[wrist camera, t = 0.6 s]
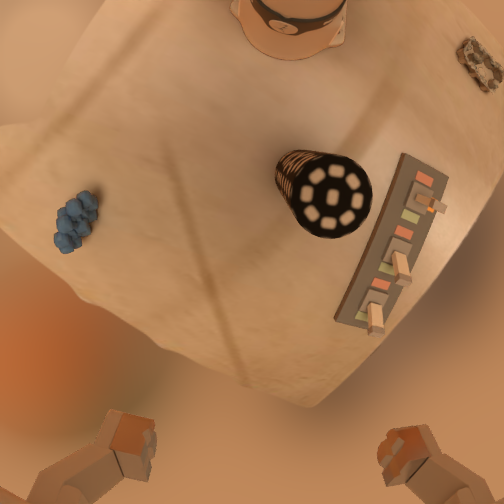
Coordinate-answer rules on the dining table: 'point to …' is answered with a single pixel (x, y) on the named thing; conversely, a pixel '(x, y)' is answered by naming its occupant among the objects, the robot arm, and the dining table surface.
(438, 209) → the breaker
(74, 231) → the blue lobed flower shape
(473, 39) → the egg carton
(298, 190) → the white-spotted black cylinder
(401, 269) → the breaker mid
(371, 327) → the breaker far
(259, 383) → the dining table surface
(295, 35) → the robot arm
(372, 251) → the breaker panel
